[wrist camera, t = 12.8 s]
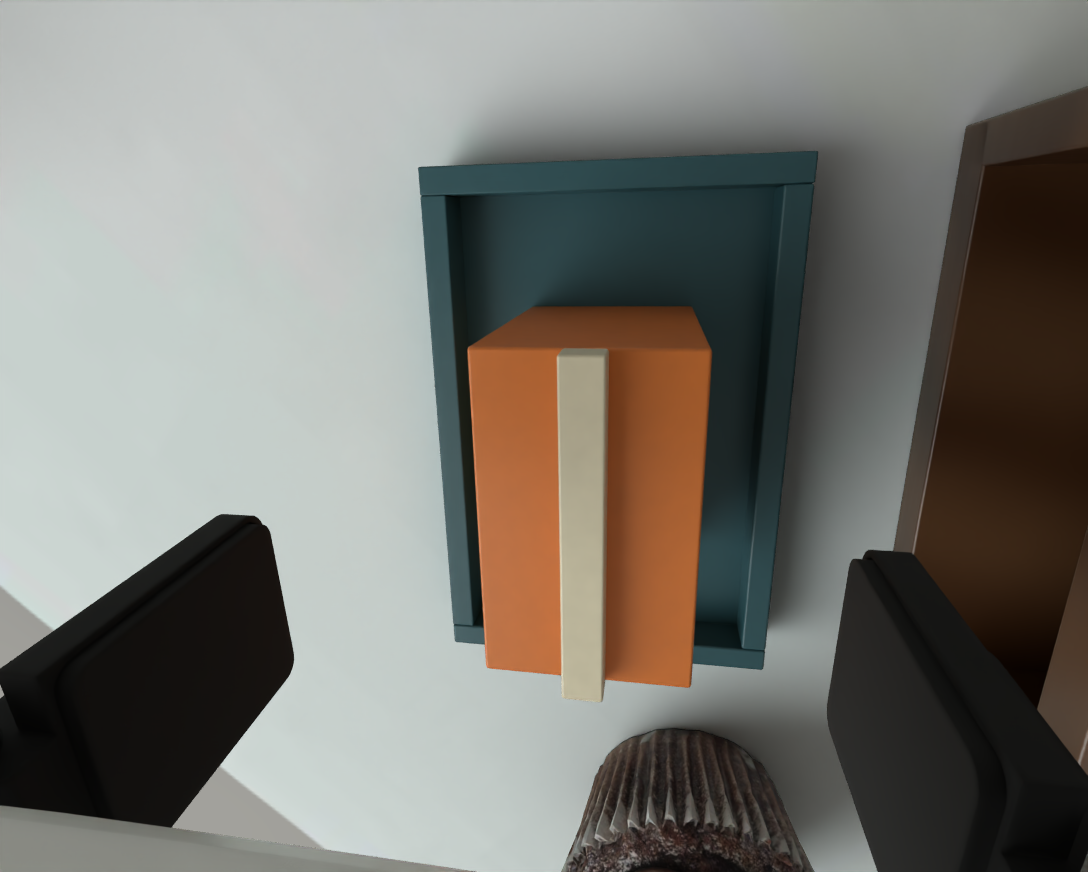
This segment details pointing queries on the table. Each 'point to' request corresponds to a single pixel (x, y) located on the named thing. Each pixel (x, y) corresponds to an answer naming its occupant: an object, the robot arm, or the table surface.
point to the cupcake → (684, 811)
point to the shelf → (1013, 408)
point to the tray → (636, 280)
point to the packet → (591, 492)
